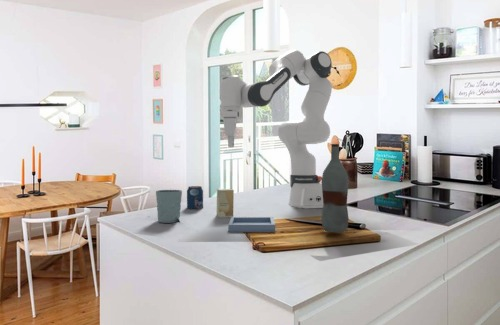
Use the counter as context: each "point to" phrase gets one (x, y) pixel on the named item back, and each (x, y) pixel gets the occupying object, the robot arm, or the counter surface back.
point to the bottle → (335, 194)
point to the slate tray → (251, 224)
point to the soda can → (194, 198)
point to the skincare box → (225, 202)
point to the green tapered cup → (168, 205)
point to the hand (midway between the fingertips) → (231, 147)
